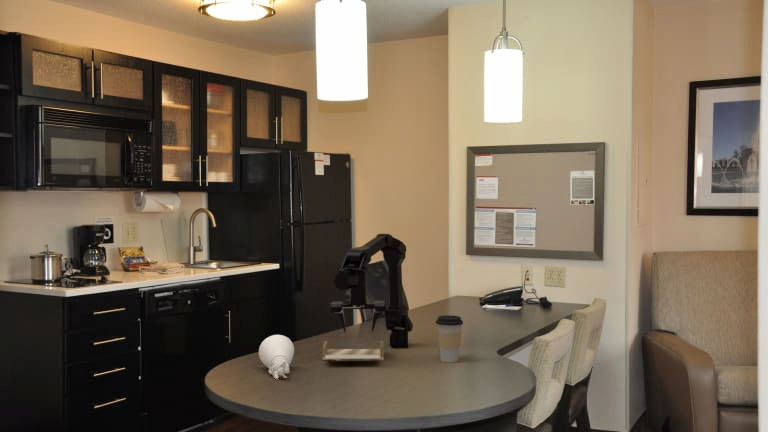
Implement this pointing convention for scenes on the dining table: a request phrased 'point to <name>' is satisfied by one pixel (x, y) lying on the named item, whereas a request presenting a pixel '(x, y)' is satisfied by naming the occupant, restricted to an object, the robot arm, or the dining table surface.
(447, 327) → the coffee cup
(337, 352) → the tray
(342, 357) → the panel
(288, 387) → the dining table surface
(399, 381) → the dining table surface
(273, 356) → the rocket engine
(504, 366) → the dining table surface
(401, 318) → the robot arm
